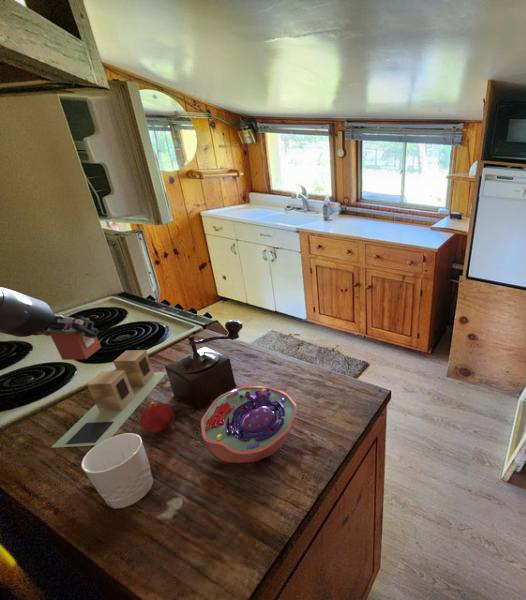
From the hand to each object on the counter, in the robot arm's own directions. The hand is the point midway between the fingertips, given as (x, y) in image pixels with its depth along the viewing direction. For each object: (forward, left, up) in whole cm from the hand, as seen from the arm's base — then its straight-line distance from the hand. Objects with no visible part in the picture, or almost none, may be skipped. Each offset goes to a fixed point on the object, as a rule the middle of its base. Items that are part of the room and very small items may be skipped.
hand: (81, 334), depth 75 cm
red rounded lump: (+21, -15, -16) cm, 30 cm away
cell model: (+42, -20, -16) cm, 49 cm away
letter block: (0, -2, -4) cm, 5 cm away
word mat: (+7, -6, -16) cm, 19 cm away
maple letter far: (+7, +2, -16) cm, 17 cm away
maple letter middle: (+7, -6, -16) cm, 18 cm away
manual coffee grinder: (+27, -1, -16) cm, 31 cm away
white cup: (+23, -29, -16) cm, 40 cm away
